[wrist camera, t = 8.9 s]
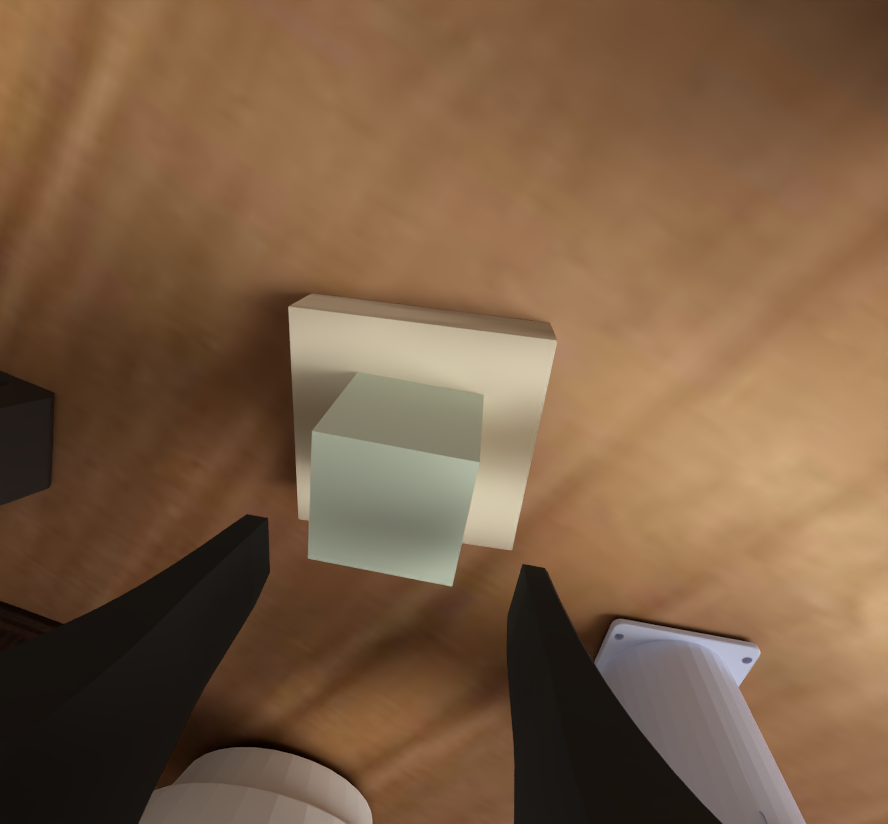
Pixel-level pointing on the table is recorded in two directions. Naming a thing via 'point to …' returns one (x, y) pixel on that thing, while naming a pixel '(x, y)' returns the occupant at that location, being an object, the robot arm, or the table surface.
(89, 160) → the table surface
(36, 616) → the manual coffee grinder
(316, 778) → the bowl
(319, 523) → the sage cube
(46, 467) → the phone stand
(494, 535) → the birch block
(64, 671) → the robot arm
